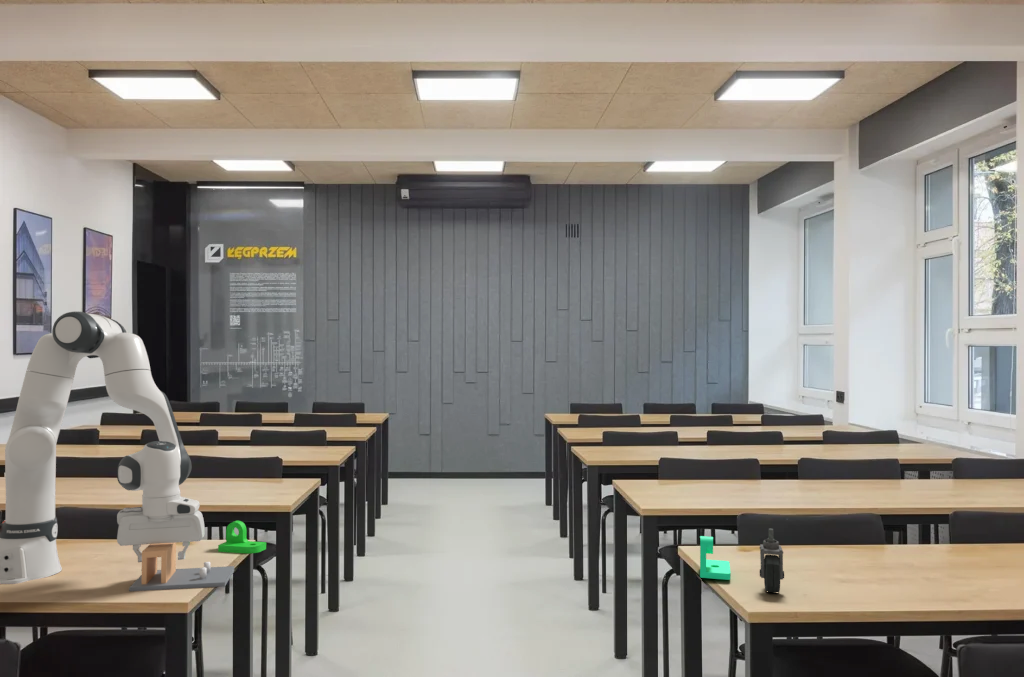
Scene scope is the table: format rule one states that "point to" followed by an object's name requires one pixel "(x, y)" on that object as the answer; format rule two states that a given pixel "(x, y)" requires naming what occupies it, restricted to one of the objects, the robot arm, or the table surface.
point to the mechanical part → (239, 540)
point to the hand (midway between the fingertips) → (161, 560)
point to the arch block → (150, 561)
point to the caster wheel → (771, 563)
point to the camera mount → (712, 562)
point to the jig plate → (187, 579)
